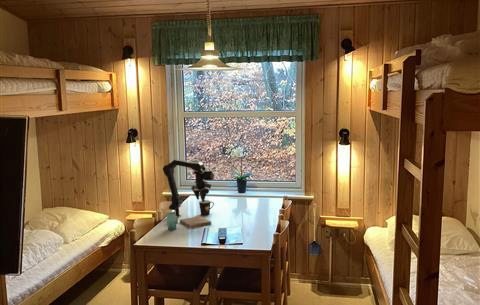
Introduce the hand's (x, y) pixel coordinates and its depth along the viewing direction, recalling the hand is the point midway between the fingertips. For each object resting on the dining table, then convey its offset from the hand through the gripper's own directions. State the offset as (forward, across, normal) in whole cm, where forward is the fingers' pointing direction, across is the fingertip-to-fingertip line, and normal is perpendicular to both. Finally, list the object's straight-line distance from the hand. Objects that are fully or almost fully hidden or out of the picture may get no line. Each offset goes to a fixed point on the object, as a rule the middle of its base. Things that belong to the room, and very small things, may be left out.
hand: (200, 200), depth 329 cm
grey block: (+13, 0, +22) cm, 26 cm away
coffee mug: (+13, +7, -8) cm, 17 cm away
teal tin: (+13, -14, +28) cm, 34 cm away
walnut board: (+13, -10, +9) cm, 19 cm away
